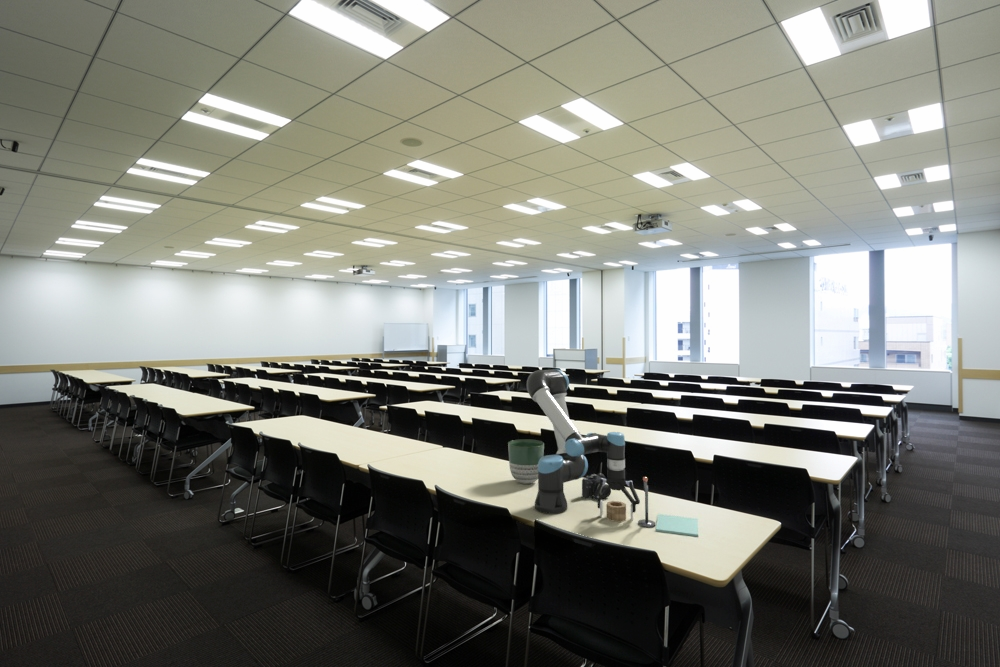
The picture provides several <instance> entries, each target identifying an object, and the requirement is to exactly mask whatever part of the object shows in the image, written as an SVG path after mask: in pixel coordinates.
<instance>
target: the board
mask: <svg viewBox="0 0 1000 667" xmlns="http://www.w3.org/2000/svg"><path fill="white" fill-rule="evenodd" d="M698 522H699V521H698V518H697V517H696V518H695V517H687V516H686V517H684V516H678V515H671V514H670V515H669V514H661V513H658V514H657V521H656V524H655V531H656V532H661V533H667V534H675V535H676V534H678V535H684V536H691V537H699V527H698V526H699V523H698Z"/></svg>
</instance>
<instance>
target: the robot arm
mask: <svg viewBox="0 0 1000 667" xmlns="http://www.w3.org/2000/svg"><path fill="white" fill-rule="evenodd" d="M569 386H570V380H569V377H568V375H567V374H566V372H564V371H563V370H562V369H554V368H552V369H543V370H542V369H538V370H535V371H533V372H531V373H530V374H529V375H528V377H527V380H526V389H527V390H526V391H527V393H528V395H529V397H530V399H532V400H533V402H535V403H537V404H538V405H539V407H540V409H541V410H542V411H543V413H544V414H545V415H546V417H547V418H548V420H549V421H550V423H551V425H552V427H553V432H554V437H555V440H556V446H557V451H556V453H555V454H549V455H548V454H547V455H544V456H543V457H542V458H540V460H539V462H538V479H537V481H538V484H537V485H538V487H537V488H538V489H537V492H536V493H537V494H536V497H535V501H534V509H535V511H537V512H539V513H544V514H562V513H565V512H567V510H568V502H567V499H566V495H565V493H564V483H569V482H571V481H576V480H579V479H581V478H582V479H583V477H584V476H586V474H587V472H588V468H589V463H588V459H587V457H586V456H585V455H586V454H592V453H597V452H599V453H600V452H601V453H604V454H606V458H607V459H606V460H607V462H606V466H607V467H606V468H607V469H606V470H607V471H606V472H607V477H606V478H605V479H604V478H601V479H600V484H599V487H598V489H597V491H596V493H595V495H594V496H592V499H593V500H596V501H597V509H599V516H600V517H601V518H602V517H603V515H604V510H603V509H604V508H603V507H604V505H603V504H604V503H603V497H604V496H605V494H606V493H607V492H608V491H609V490H610V489H611V491H619V492H620V491H621V492H622V493H623V494H624V495H625V497H626V498H627V499H628V501H629V502H630V522H632V521H634V520H633V519H634V513H636V509H637V508H636V507H637V505H640V502H641V501H640V500H641V499H640V498H639V496H638V493H637V491H636V489H635V487H634V484H633V480H626V469H625V468H626V458H625V452H626V451H625V450H626V449H625V448H626V442H625V435H624V433H623V432H619V431H617V432H616V431H609V432H607V434H606V435H605V434H600V433H596V432H589V433H587V434H586V435H584V436H583V435H582V434H581V432H580V431H579V430H578V429H577V427H576V426H575V424H574V423H573V422H572V420H571V419H570V415H569V410H568V407H567V402H566V396H567V395H568V393H567V390H568V389H569ZM604 483H605V484H607V485H609V486H608V487H607V488H606V489H605V490H604V492H603V493H602V494H601V495H600V496H598V494H599V491H600V489H601V487H602V485H603V484H604ZM626 485H627V487H629V490H630V492H631V494H630V493H629V491H628V489H627V487H625V486H626Z"/></svg>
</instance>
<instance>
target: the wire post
mask: <svg viewBox="0 0 1000 667" xmlns="http://www.w3.org/2000/svg"><path fill="white" fill-rule="evenodd" d="M648 480H649V478H648V477H647V476H643V477H642V481H643V491H644V516H645V518H643V519H639V520H638V521H637V524H638V526H639V527H642V528H648V529H649V528H656V522H655V521H654V520H650V519H649V485H648Z"/></svg>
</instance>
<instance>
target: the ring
mask: <svg viewBox="0 0 1000 667" xmlns="http://www.w3.org/2000/svg"><path fill="white" fill-rule="evenodd" d="M606 502H607V503H606V505H605V506H606V519H607V520H609V521H611V522H619V523H620V522H624V521H626V520H627V504H626V503H625V502H622V501H618V500H609V501H606Z"/></svg>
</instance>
